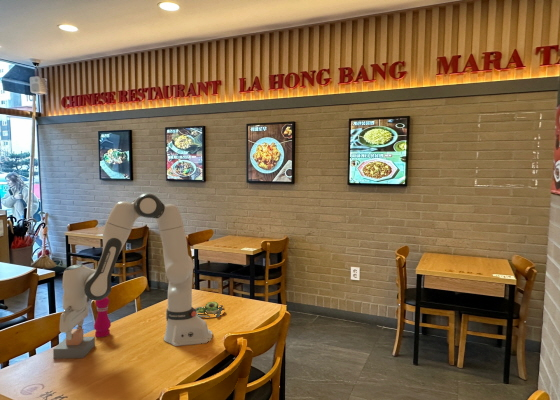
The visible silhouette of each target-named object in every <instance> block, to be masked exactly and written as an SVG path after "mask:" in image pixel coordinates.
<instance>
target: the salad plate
mask: <svg viewBox="0 0 560 400" xmlns="http://www.w3.org/2000/svg"><path fill="white" fill-rule="evenodd" d="M218 306H221V307H219V308H218ZM202 307H203V308H202ZM204 307H205V308H204ZM222 307H223V308H224V306H223V305H222V304H221V305H219V303H218V301H217V302H216V301H210V302H209V301H208V302H207V303H205V306H198V307H195V308H196V315H197V316H198V317H200V318H201V317H210V316H208V315H202V314H199V315H198V314H197V313H205V312H206V313H207V314H214V315H215V314H217V315H216V317H215V318H219V317H221V316H220V314H221V311H222V309H223V308H222ZM218 309H219V310H218Z"/></svg>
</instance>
